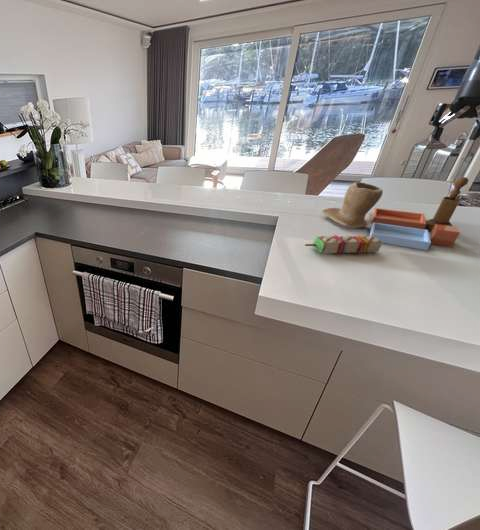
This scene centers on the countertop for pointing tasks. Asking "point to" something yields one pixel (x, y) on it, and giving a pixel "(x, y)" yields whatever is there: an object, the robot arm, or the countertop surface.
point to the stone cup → (355, 205)
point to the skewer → (346, 244)
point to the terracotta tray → (399, 218)
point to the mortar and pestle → (447, 206)
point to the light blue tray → (401, 235)
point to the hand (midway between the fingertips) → (453, 140)
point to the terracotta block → (444, 235)
